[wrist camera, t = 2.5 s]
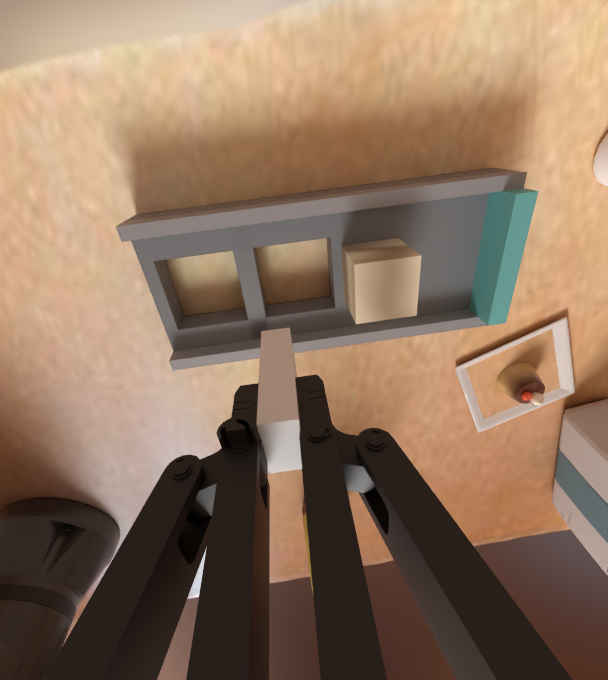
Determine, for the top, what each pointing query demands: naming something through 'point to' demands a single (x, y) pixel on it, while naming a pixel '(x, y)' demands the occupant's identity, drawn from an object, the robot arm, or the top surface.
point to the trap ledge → (341, 229)
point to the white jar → (601, 162)
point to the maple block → (380, 280)
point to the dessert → (523, 379)
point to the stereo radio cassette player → (584, 477)
